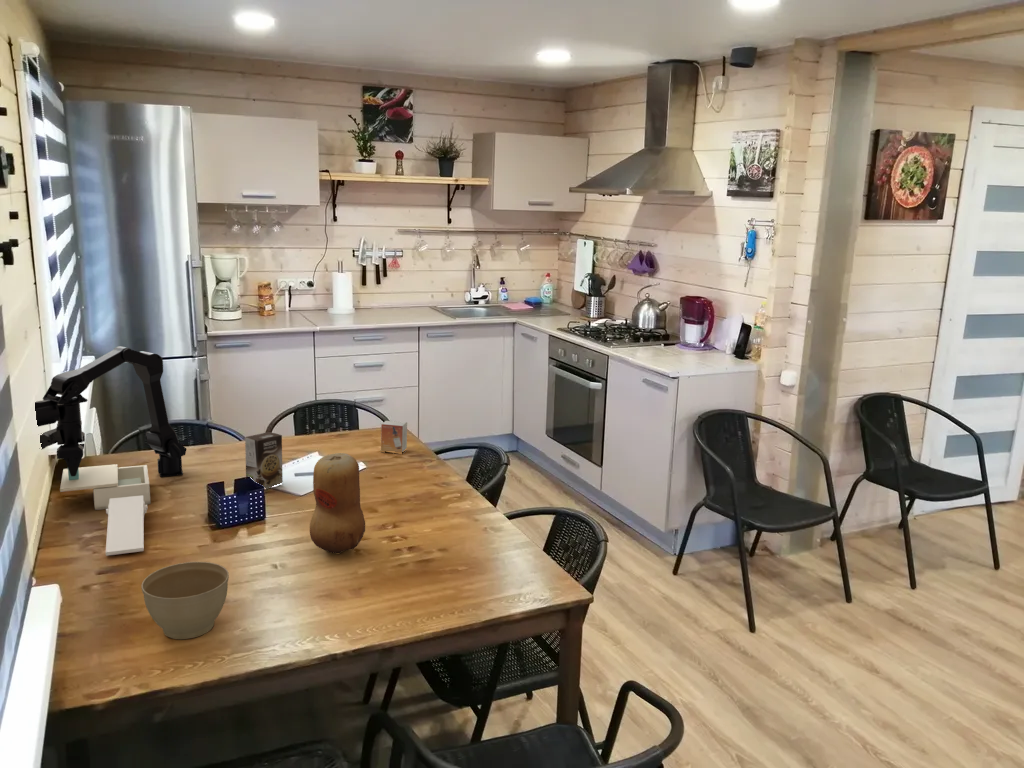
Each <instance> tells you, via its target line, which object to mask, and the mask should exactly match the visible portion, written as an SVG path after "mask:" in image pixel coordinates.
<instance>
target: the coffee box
mask: <svg viewBox="0 0 1024 768" xmlns="http://www.w3.org/2000/svg"><path fill="white" fill-rule="evenodd" d="M282 437H283V435H282V434H280V433H279V434H278V433H275V432H271V431H266V432H263V433H258V434H252V435H248V436H245V437H244V440H245V445H244V446H245V478H246V477H251V478H252V479H253V480H254V481H255V482H257V483H259V484H261V485H263V486H264V487H265V488H266V489H268V488H269V487H272V486H274V485H277V484H280V483H282V482H284V481H283V438H282ZM268 490H269V489H268Z"/></svg>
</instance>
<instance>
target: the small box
mask: <svg viewBox="0 0 1024 768" xmlns="http://www.w3.org/2000/svg"><path fill="white" fill-rule="evenodd" d="M380 432H381V433H380V451H381V450H382V451H395V452H403V451H404V450H405V449H406V448H407V446H408V445H407V444H408V443H407V441H408V439H407V438H408V434H407V433H408V422H407V421H396V420H395V421H393V420H385V421H384V422H382V423H381V427H380Z"/></svg>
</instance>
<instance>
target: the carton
mask: <svg viewBox="0 0 1024 768" xmlns="http://www.w3.org/2000/svg"><path fill="white" fill-rule="evenodd" d="M142 495H143V499H144V501H145V505H151V488H150V479H149V471H148V465H147V464H144V465H133V466H132V465H130V466H121V467H118V486H112V487H103V488H93V503H94V511H99V510H106V509H108V505H109V500H110V499H111V498H121V497H131V496H142Z"/></svg>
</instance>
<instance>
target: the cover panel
mask: <svg viewBox="0 0 1024 768" xmlns="http://www.w3.org/2000/svg"><path fill="white" fill-rule="evenodd" d="M118 468H119V467H118V463H116V464H114V463H113V464H104V465H102V464H101V465H93V466H82V467H80V466H79V468H78V471H77V473H76V476H71V474H70V472H69V469H68V468H63V470H62V475H61V481H60V482H61V483H60V488H59V491H60V493H61V492H71V491H73V492H74V491H80V490H81V491H82V490H92V489H93V488H103V487H112V486H118Z"/></svg>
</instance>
